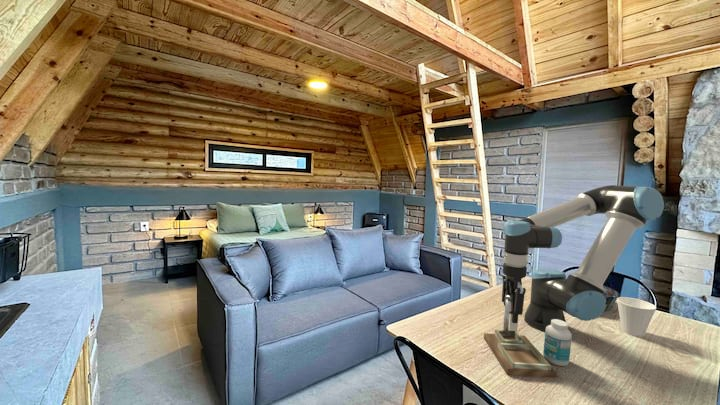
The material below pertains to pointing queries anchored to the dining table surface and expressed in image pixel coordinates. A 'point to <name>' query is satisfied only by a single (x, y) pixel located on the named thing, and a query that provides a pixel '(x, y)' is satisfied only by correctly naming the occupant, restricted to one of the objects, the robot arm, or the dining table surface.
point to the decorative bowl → (610, 297)
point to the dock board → (518, 355)
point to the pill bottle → (557, 343)
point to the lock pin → (507, 316)
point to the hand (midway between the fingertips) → (509, 326)
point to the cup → (635, 315)
